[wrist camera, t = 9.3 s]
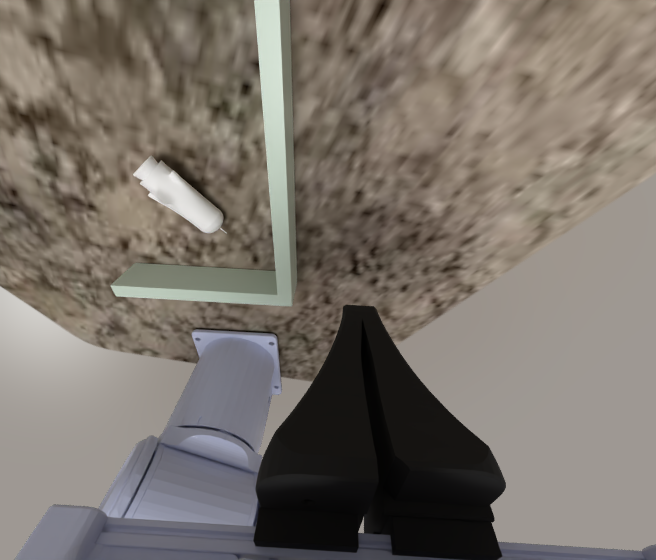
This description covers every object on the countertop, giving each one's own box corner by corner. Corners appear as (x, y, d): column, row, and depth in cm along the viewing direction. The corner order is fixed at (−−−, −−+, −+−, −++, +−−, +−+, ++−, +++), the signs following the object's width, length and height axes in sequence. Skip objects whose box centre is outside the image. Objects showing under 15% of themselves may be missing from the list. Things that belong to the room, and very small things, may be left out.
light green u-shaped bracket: (297, 282, 23) (291, 306, 21) (139, 273, 23) (115, 296, 21) (288, -41, 13) (276, -68, 10) (0, -56, 13) (-79, -86, 10)
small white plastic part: (189, 237, 21) (169, 259, 19) (146, 153, 18) (114, 166, 16) (234, 230, 21) (219, 251, 18) (198, 142, 18) (173, 154, 15)
